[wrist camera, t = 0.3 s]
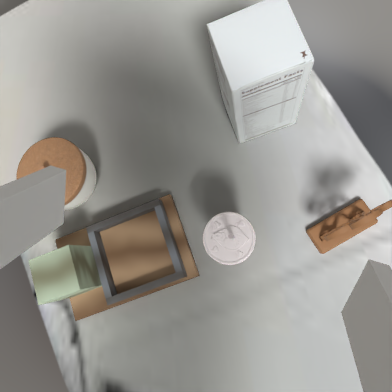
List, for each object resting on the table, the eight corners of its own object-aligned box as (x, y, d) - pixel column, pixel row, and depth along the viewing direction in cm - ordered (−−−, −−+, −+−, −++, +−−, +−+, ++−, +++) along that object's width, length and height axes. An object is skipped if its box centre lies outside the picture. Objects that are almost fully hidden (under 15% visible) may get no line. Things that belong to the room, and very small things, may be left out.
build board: (199, 275, 47) (187, 280, 38) (79, 319, 49) (41, 334, 40) (171, 195, 50) (154, 182, 41) (59, 240, 52) (19, 237, 43)
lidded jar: (36, 192, 54) (-7, 180, 45) (73, 141, 55) (37, 119, 46) (82, 227, 52) (45, 222, 43) (119, 173, 52) (91, 157, 43)
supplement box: (276, 73, 51) (287, -13, 34) (297, 123, 49) (319, 58, 32) (219, 95, 52) (203, 21, 35) (237, 145, 50) (230, 92, 33)
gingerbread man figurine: (320, 254, 45) (344, 254, 33) (305, 230, 46) (323, 222, 34) (377, 222, 44) (421, 210, 33) (359, 198, 45) (396, 179, 34)
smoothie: (253, 265, 46) (254, 269, 32) (210, 260, 47) (193, 263, 34) (256, 221, 47) (257, 207, 34) (213, 218, 48) (198, 204, 35)
